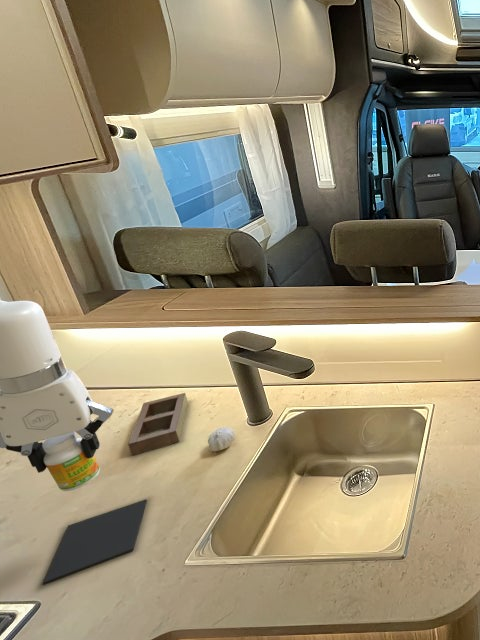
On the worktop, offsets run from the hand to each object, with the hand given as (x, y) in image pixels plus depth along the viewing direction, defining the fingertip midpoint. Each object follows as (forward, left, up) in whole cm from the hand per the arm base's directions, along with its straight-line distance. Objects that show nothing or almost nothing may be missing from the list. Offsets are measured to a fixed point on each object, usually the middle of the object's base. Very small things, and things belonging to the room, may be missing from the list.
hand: (69, 458), depth 74 cm
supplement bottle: (0, 0, -5) cm, 5 cm away
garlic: (+19, +15, -19) cm, 31 cm away
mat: (0, -1, -19) cm, 19 cm away
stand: (+5, +30, -19) cm, 36 cm away
